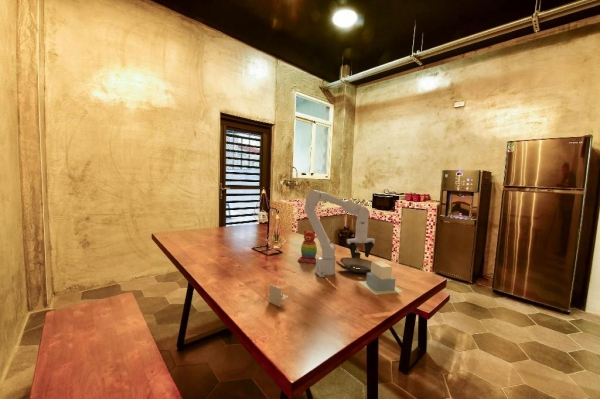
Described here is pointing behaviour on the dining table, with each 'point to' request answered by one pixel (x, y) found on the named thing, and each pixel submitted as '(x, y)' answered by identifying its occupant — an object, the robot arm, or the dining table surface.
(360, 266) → the dark shallow pan
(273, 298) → the grey tabbed plate
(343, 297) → the dining table surface
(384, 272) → the cream brick
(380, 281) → the blue base brick
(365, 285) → the baseplate
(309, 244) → the stacking bear
